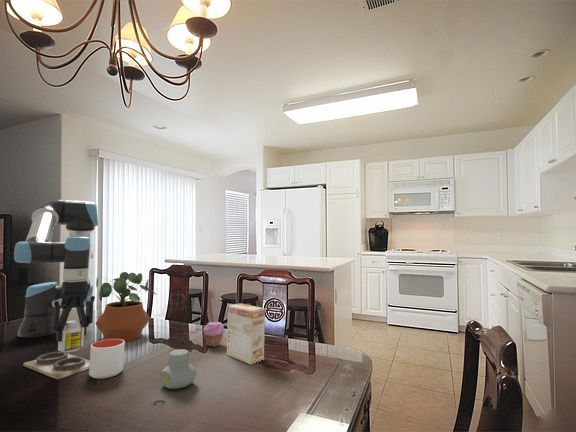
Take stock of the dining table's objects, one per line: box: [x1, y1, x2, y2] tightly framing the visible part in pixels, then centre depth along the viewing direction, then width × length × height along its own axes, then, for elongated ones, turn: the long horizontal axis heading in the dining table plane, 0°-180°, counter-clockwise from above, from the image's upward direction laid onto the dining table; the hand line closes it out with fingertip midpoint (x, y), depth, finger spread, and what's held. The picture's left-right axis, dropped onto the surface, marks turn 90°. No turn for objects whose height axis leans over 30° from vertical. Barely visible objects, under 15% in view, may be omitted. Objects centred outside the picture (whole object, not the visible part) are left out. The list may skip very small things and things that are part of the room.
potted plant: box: [95, 271, 157, 343], centre depth 151 cm, size 23×28×30 cm
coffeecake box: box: [226, 302, 266, 365], centre depth 125 cm, size 15×7×20 cm, turn 47°
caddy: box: [22, 351, 90, 380], centre depth 113 cm, size 13×22×2 cm, turn 62°
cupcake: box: [203, 321, 225, 348], centre depth 139 cm, size 9×9×10 cm
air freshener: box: [159, 348, 197, 390], centre depth 100 cm, size 11×8×10 cm
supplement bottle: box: [63, 319, 81, 353], centre depth 112 cm, size 5×5×10 cm
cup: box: [88, 339, 126, 380], centre depth 108 cm, size 10×10×10 cm
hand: (70, 347), depth 111 cm, fingers closed on supplement bottle, 5 cm apart
